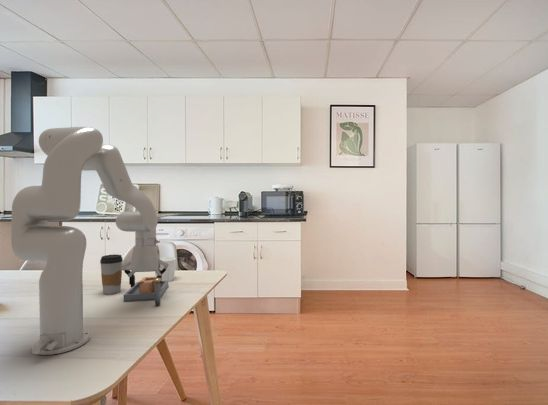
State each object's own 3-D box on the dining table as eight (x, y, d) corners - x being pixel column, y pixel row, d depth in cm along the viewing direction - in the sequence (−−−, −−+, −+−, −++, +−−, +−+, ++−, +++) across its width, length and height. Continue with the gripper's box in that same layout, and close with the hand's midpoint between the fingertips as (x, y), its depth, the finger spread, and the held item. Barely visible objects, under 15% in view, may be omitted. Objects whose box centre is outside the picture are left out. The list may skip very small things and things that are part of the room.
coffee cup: (113, 296, 120) (113, 258, 120) (95, 294, 122) (94, 257, 122) (127, 289, 129) (127, 254, 128) (110, 288, 130) (110, 253, 130)
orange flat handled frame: (161, 286, 131) (161, 276, 131) (153, 296, 118) (153, 285, 118) (144, 287, 130) (144, 277, 130) (134, 297, 117) (134, 285, 117)
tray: (159, 299, 116) (159, 293, 116) (123, 301, 114) (123, 295, 114) (168, 286, 134) (168, 280, 134) (137, 287, 132) (137, 281, 132)
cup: (148, 281, 141) (148, 260, 141) (163, 276, 150) (162, 256, 150) (166, 283, 138) (166, 261, 138) (180, 278, 147) (180, 257, 147)
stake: (160, 306, 109) (160, 279, 109) (153, 306, 109) (152, 279, 108) (162, 303, 112) (161, 277, 111) (154, 304, 111) (154, 277, 111)
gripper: (170, 240, 124) (170, 282, 124) (125, 241, 122) (125, 284, 122) (166, 243, 117) (166, 287, 117) (119, 244, 114) (119, 289, 114)
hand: (145, 285), depth 119 cm, fingers open, 9 cm apart
